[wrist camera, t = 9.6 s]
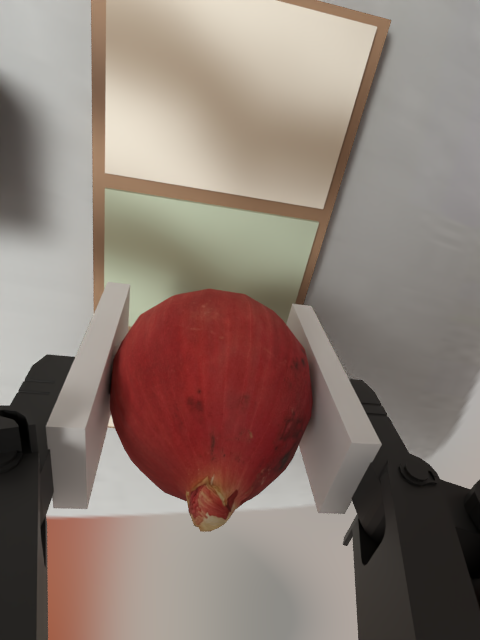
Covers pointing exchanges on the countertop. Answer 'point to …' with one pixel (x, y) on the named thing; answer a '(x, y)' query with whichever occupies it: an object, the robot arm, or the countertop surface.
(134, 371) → the onion
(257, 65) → the board
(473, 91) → the countertop surface
